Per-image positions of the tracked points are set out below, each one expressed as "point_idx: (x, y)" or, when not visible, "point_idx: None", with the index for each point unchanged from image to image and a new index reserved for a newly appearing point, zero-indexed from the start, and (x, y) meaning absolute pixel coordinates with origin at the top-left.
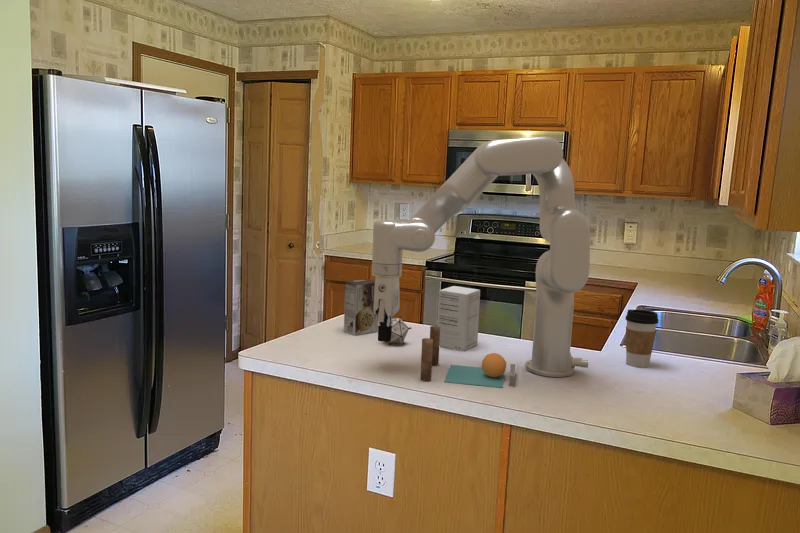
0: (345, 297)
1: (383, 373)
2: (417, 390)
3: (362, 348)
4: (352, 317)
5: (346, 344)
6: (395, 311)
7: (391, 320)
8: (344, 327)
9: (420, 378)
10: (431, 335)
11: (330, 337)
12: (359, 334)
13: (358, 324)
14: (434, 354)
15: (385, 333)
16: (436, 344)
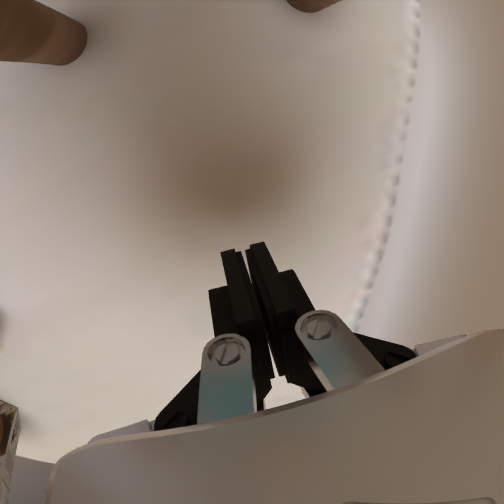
0: (8, 501)
1: (306, 174)
2: (419, 13)
3: (77, 364)
4: (9, 451)
5: (85, 402)
6: (393, 409)
7: (224, 367)
8: (18, 436)
9: (319, 10)
10: (10, 25)
11: (75, 436)
12: (4, 403)
13: (1, 427)
14: (65, 19)
15: (303, 294)
16: (37, 2)
